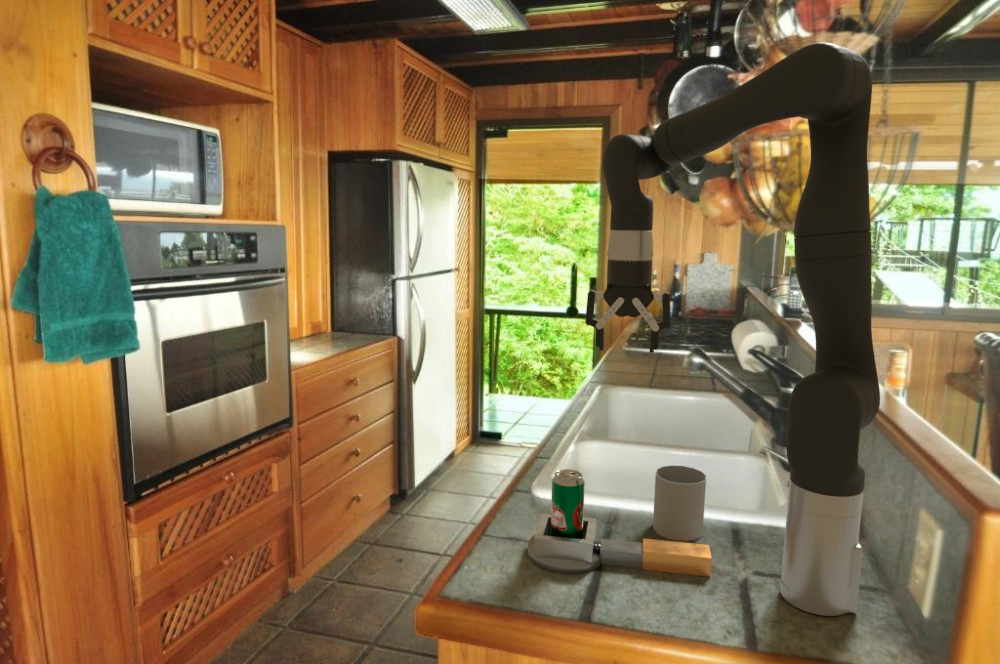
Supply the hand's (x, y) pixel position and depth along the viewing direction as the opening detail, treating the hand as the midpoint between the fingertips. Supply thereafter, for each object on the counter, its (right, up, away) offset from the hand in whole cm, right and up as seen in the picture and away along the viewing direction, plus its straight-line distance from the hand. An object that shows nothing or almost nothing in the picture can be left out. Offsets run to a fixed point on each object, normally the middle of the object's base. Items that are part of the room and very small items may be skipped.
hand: (626, 350), depth 118 cm
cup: (+9, -31, -1) cm, 32 cm away
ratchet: (-4, -32, -11) cm, 35 cm away
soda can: (-11, -31, -10) cm, 34 cm away
